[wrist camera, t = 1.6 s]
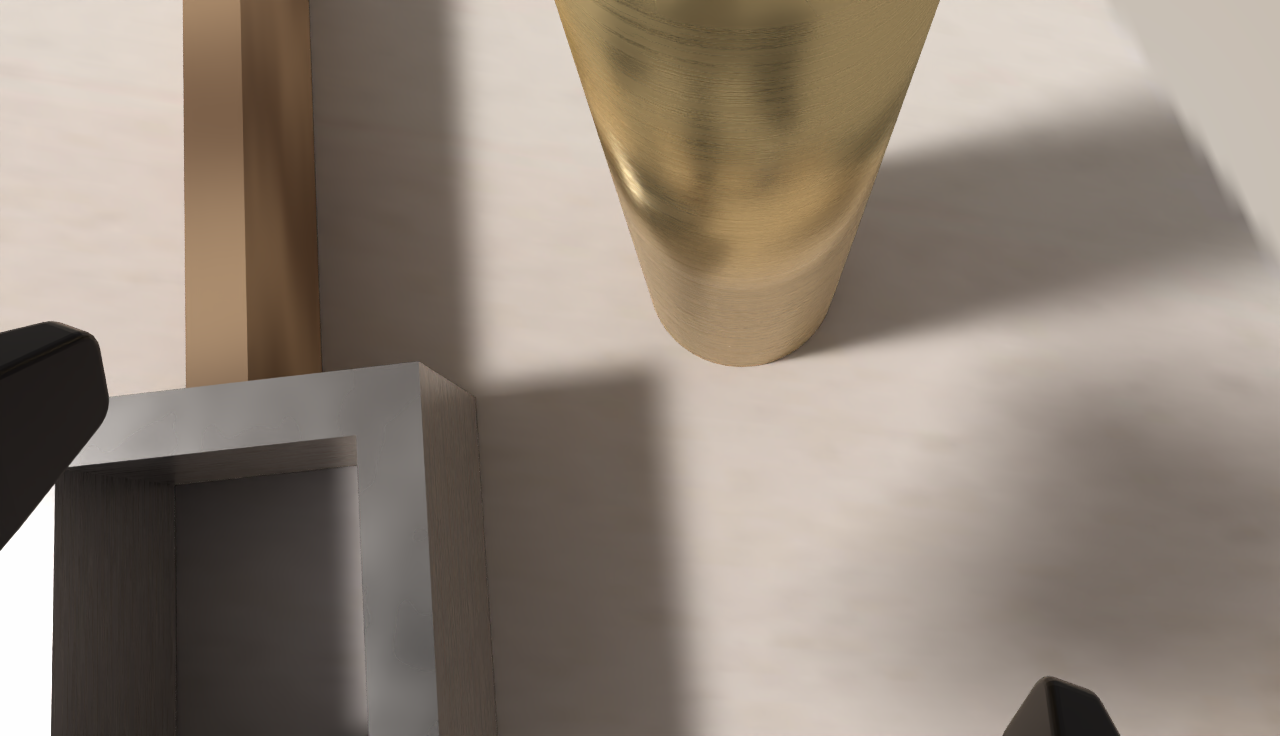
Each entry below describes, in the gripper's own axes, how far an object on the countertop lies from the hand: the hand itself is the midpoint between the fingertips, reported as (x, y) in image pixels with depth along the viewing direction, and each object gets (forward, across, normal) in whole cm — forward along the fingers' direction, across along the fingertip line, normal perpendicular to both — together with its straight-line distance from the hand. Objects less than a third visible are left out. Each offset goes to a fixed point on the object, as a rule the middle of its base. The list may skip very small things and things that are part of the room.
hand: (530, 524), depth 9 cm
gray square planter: (+6, +6, +11) cm, 14 cm away
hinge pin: (+13, 0, +4) cm, 14 cm away
